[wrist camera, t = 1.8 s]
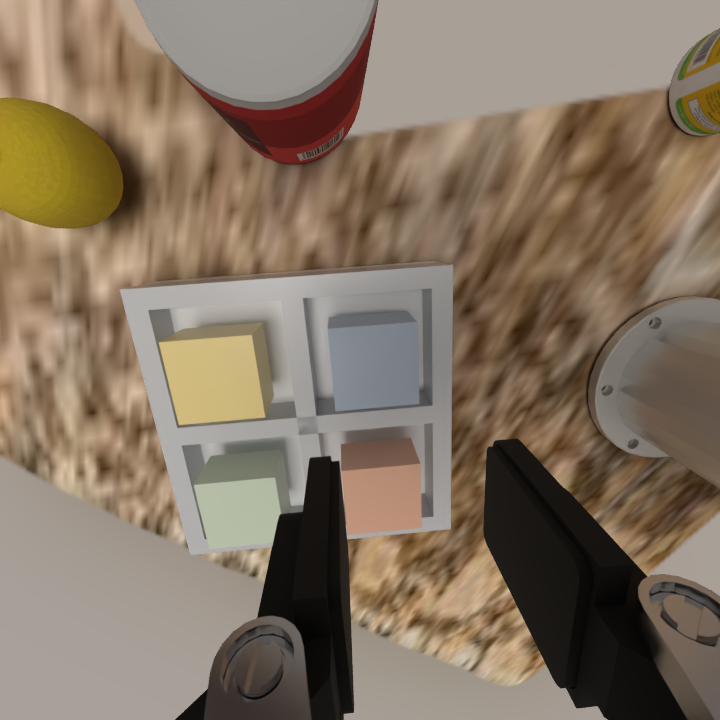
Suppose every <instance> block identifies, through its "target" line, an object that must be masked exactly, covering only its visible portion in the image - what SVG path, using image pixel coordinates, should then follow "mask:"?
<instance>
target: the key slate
mask: <svg viewBox="0 0 720 720" xmlns="http://www.w3.org/2000/svg"><path fill="white" fill-rule="evenodd" d="M328 338H329V349H330V359H331V369H332V380H333V390H334V400H335V411H345V410H357V409H368V408H379V407H391V406H402V405H414V404H419V360H418V321H417V320H416V319H415V318H414V317H413V316H412V315H411V314H410V313H409V312H408V311H402V312H389V313H376V314H363V315H351V316H338V317H329V320H328Z"/></svg>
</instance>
